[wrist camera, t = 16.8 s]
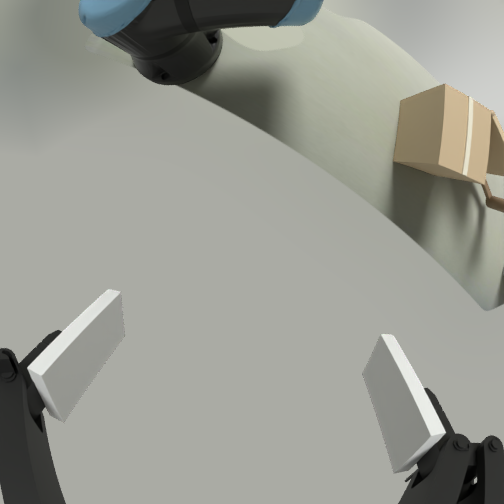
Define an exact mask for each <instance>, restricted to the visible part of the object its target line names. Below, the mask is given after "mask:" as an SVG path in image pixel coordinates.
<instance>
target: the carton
mask: <svg viewBox="0 0 504 504" xmlns="http://www.w3.org/2000/svg"><path fill="white" fill-rule="evenodd" d="M490 131H491V111H490V110H489V109H487V108H486V107H484V106H483V105H481V104H480V103H478V102H477V101H475V100H473V98H472V97H470V96H466V95H465V94H463V93H461V92H460V91H458V90H456V89H454V88H452V87H450V86H449V85H447V84H443V85H440V86H437V87H434V88H432V89H429V90H426V91H424V92H421V93H418V94H416V95H413V96H411V97H408V98H406V99H403V100H401V103H400V113H399V122H398V130H397V138H396V145H395V152H394V158H393V161H394V162H397V163H400V164H403V165H406V166H409V167H412V168H415V169H418V170H421V171H424V172H427V173H429V174H432V175H435V176H441V177H447V178H453V179H458V180H463V181H469V182H473V183H478V184H483V185H485V179H486V172H487V165H488V156H489V145H490Z"/></svg>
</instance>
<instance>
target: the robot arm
mask: <svg viewBox="0 0 504 504" xmlns="http://www.w3.org/2000/svg"><path fill="white" fill-rule="evenodd" d="M322 3H323V0H80V3H79V17H80V20H81V22H82V23H83V24H84V25H85V26H86V27H87V28H89V29H90V30H92V31H93V33H94V34H95V35H96V36H98V37H101V38H103V39H105V40H106V41H108V42H110V43H112V44H113V45H115V46H117V47H119V48H120V49H122V50H124V51H125V52H127V53H129V54H130V55H131V57H132V60H133V62H134V65H135V67H136V69H137V70H138V71H139V72H140V74H142V75H143V76H144V77H146V78H147V79H149V80H151V81H152V82H155V83H158V84H162V85H177V84H182V83H185V82H188V81H191V80H193V79H195V78H197V77H198V76H200V75H201V74H203V73H204V72H205V71H207V70H208V69H209V68H210V67H211V66H212V64H213V63H214V62H215V61H216V59H217V57H218V56H219V54H220V51H221V48H222V41H223V39H222V33H221V30H220V29H225V28H236V27H253V26H269V27H270V28H276V27H279V26H301V25H305V24H307V23H308V22H311V21H312V20H313V19H314V18H315V17H316V15H317V14H318V12H319V10H320V8H321V6H322ZM124 337H125V331H124V322H123V311H122V298H121V292H119V291H115V290H111V289H108V290H107V291H106V292H105V293H103V294H102V295H101V296H100V297H99V298H98V299H97V300H96V301H95V302H93V303H92V304H91V305H90V306H89V307H88V308H87V309H86V310H85V311H84V312H83V313H82V314H81V315H79V316H78V317H77V318H76V319H75V320H74V321H73V322H72V323H71V324H70V325H69V326H68V327H67V328H66V329H65V330H64V331H63V332H62V331H60V330H57V331H55V332H53V333H51V334H49V335H48V336H47V337H46V338H45V339H43V341H42V343H39V344H38V345H37V347H35V348H34V349H33V350H32V351H31V352H30V353H29V354H28V355H27V356H26V357H25V358H24V359H23V360H22V361H21V362H20V363H19V364H18V361H17V359H16V356H15V354H14V353H13V352H12V351H11V350H9V349H7V348H1V349H0V485H1V490H2V495H3V499H4V504H66V503H65V500H64V497H63V494H62V491H61V488H60V485H59V482H58V479H57V475H56V472H55V468H54V464H53V460H52V456H51V452H50V448H49V443H48V438H47V433H46V427H45V421H44V416H43V413H42V410H43V409H44V408H45V407H46V409H47V411H48V412H49V414H50V415H51V416H53V417H54V418H56V419H58V420H60V421H62V422H63V423H64V422H65V420H66V419H67V417H68V416H69V414H70V412H71V411H72V410H73V408H74V407H75V405H76V404H77V402H78V401H79V399H80V398H81V397H82V395H83V394H84V392H85V391H86V389H87V388H88V386H89V385H90V384H91V382H92V381H93V379H94V378H95V376H96V375H97V373H98V372H99V371H100V369H101V368H102V367H103V365H104V364H105V362H106V361H107V360H108V358H109V357H110V356H111V354H112V353H113V352H114V350H115V349H116V347H117V346H118V345H119V343H120V342H121V341H122V339H123V338H124ZM362 375H363V378H364V380H365V383H366V386H367V389H368V392H369V395H370V398H371V401H372V404H373V407H374V409H375V412H376V416H377V419H378V422H379V425H380V428H381V431H382V435H383V438H384V441H385V444H386V448H387V451H388V454H389V458H390V461H391V465H392V468H393V472H394V473H398V472H403V471H408V470H409V469H411V467H413V466H414V465H415V464H416V463H417V466H418V469H417V470H416V471H415V472H414V473H412V474H411V475H410V476H409V477H408V478H407V479H406V480H405V482H407V481H408V480H410V479H411V481H410V483H409V485H408V486H407V489H406V490H405V492H404V494H403V496H402V498H401V500H400V502H399V503H398V504H504V449H503V445H502V442H501V441H500V439H499V438H497V437H495V436H488V437H486V438H485V439H484V440H483V441H482V442H481V443H470V441H469V440H468V438H467V437H465V436H464V435H462V434H455V432H454V430H453V429H452V427H451V424H450V422H449V421H448V419H447V417H446V415H445V413H444V411H442V407H441V405H439V402H438V400H437V398H436V396H435V395H434V394H433V393H432V392H431V391H430V390H429V389H428V388H423V386H422V385H421V383H420V381H419V379H418V377H417V375H416V374H415V372H414V370H413V368H412V367H411V365H410V363H409V361H408V360H407V358H406V356H405V354H404V353H403V351H402V349H401V347H400V346H399V344H398V342H397V341H396V339H395V337H394V336H393V335H387V334H381V335H380V337H379V339H378V341H377V344H376V346H375V348H374V350H373V352H372V355H371V357H370V359H369V361H368V363H367V365H366V367H365V369H364V371H363V373H362ZM476 477H477V483H475V484H474V479H475V478H476Z"/></svg>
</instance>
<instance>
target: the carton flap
mask: <svg viewBox="0 0 504 504" xmlns="http://www.w3.org/2000/svg"><path fill="white" fill-rule="evenodd" d="M490 111H491V131H490V145H489V156H488V165H487V172H486V173H488V174H494V175H500V176H504V132H503V130H502V127H501V125H500V123H499V121H498V119H497V117H496V115H495V113H494V111H493V110H490ZM481 185H482V188H483V190H484V193H485V196H486V205H487V207H489V208H492V209H495V210H498V211H501V212H504V199H502V198H498V197H495V196H492V194H491V192H490V189H489V186H488V184H487V181H486V179H485V185H483V184H481Z"/></svg>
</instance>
